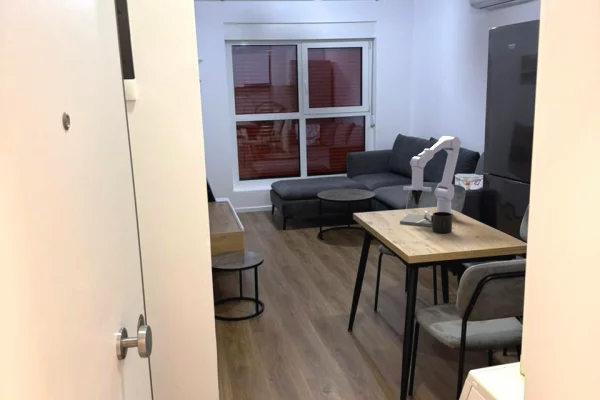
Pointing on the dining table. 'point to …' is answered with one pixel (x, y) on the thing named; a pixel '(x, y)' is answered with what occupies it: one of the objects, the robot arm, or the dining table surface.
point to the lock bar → (429, 215)
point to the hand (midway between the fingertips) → (416, 203)
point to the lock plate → (416, 220)
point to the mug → (442, 222)
